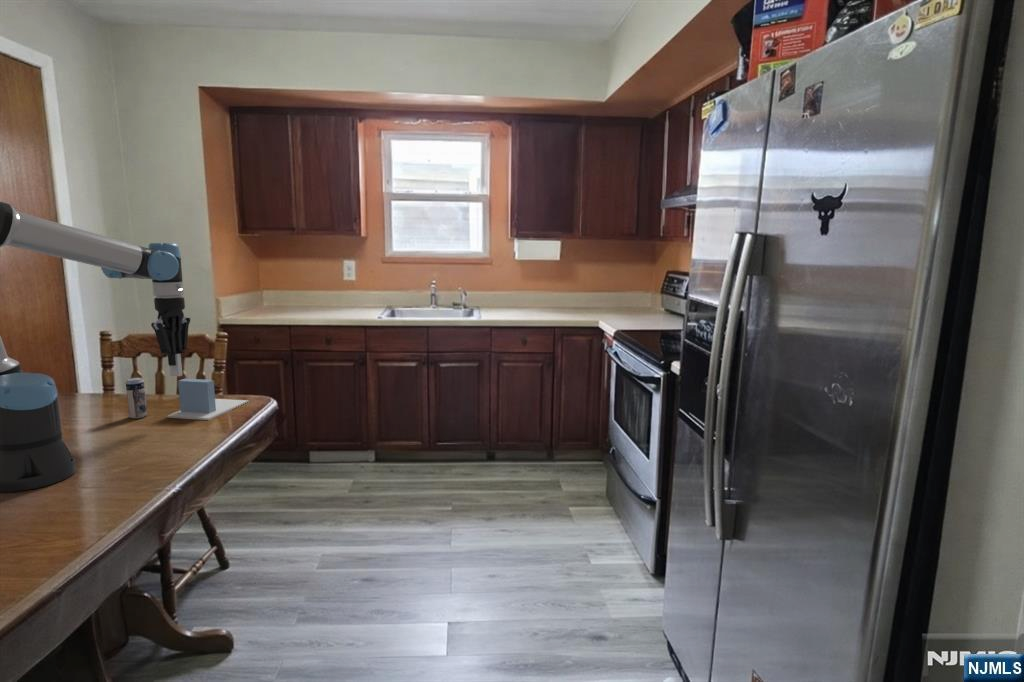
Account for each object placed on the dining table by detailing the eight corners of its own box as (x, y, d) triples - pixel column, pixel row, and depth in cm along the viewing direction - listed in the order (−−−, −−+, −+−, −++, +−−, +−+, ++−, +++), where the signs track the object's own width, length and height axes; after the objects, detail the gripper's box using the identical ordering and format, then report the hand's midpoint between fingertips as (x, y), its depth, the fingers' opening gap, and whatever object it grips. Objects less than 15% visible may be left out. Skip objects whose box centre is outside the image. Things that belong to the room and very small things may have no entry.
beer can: (140, 419, 167) (136, 381, 165) (125, 419, 167) (121, 380, 165) (151, 414, 172) (147, 377, 170) (136, 414, 172) (132, 377, 170)
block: (209, 413, 172) (207, 382, 170) (180, 411, 174) (177, 380, 172) (216, 410, 175) (213, 380, 173) (187, 408, 176) (184, 378, 175)
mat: (208, 420, 168) (208, 418, 167) (167, 417, 169) (167, 415, 169) (248, 402, 187) (248, 400, 187) (211, 400, 189) (210, 398, 189)
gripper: (163, 299, 154) (171, 381, 158) (196, 294, 166) (203, 371, 170) (139, 298, 155) (148, 380, 159) (174, 294, 167) (181, 370, 171)
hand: (176, 375), depth 164 cm, fingers closed
